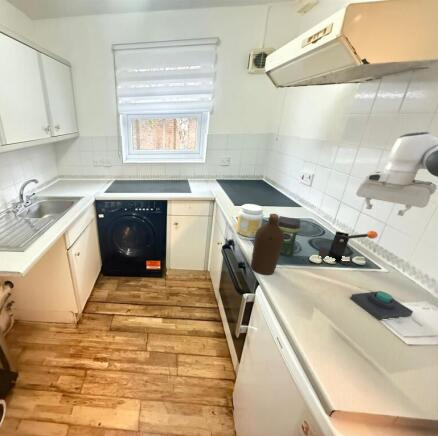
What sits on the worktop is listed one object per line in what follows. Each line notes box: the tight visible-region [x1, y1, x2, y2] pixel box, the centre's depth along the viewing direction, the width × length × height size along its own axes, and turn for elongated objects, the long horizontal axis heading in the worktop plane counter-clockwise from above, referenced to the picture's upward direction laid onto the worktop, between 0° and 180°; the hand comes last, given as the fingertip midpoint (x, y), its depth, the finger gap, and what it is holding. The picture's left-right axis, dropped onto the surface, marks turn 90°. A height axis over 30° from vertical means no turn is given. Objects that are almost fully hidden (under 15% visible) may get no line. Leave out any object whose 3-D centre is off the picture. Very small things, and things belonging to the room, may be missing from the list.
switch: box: [342, 230, 378, 240], centre depth 101 cm, size 13×3×3 cm, turn 54°
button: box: [376, 290, 393, 303], centre depth 79 cm, size 4×4×2 cm
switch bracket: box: [318, 230, 353, 267], centre depth 106 cm, size 12×9×13 cm
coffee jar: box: [277, 215, 301, 258], centre depth 110 cm, size 10×8×19 cm
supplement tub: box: [235, 203, 264, 241], centre depth 128 cm, size 12×12×17 cm
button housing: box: [349, 290, 414, 321], centre depth 80 cm, size 12×10×4 cm
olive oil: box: [250, 213, 284, 276], centre depth 97 cm, size 11×11×25 cm
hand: (383, 211), depth 95 cm, fingers open, 8 cm apart
